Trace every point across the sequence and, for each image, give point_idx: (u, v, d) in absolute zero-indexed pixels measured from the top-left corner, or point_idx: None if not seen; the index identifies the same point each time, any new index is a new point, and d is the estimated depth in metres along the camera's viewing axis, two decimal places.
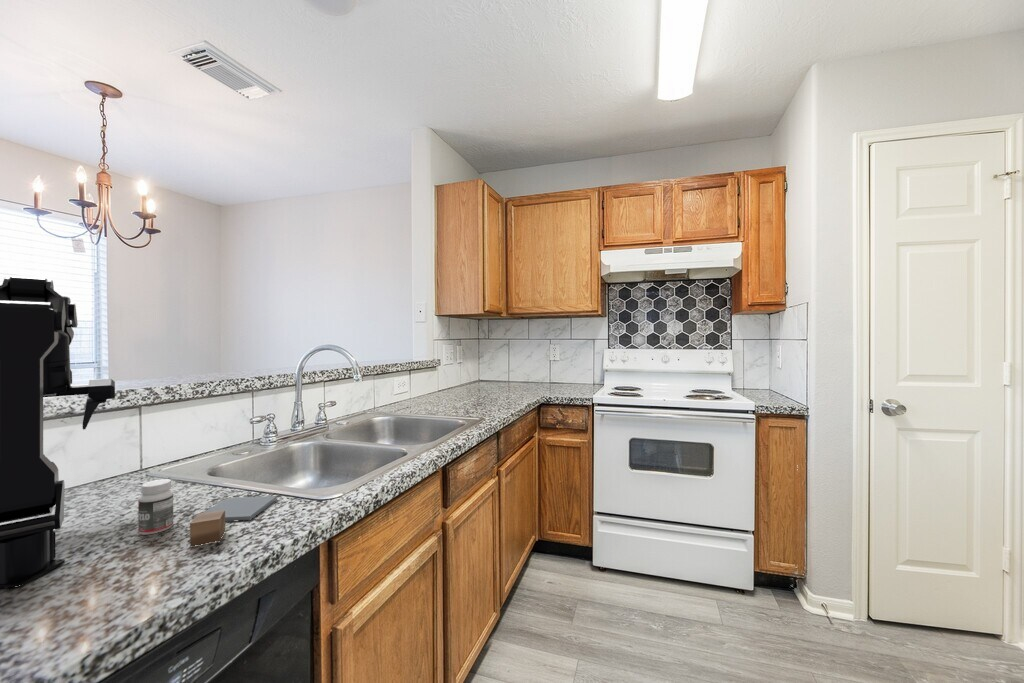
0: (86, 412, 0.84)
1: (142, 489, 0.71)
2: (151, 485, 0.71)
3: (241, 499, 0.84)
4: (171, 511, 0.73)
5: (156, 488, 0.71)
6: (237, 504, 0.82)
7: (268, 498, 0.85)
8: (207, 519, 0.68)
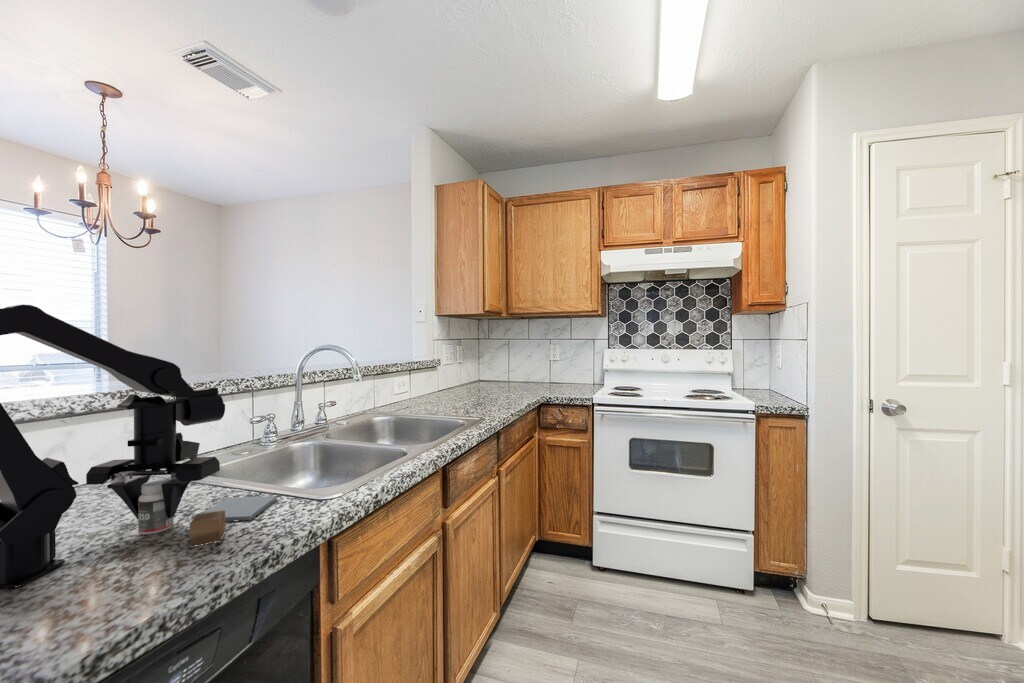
0: (164, 497, 0.71)
1: (142, 489, 0.71)
2: (151, 485, 0.71)
3: (241, 499, 0.84)
4: None
5: (156, 487, 0.71)
6: (237, 504, 0.82)
7: (268, 498, 0.85)
8: (207, 519, 0.68)
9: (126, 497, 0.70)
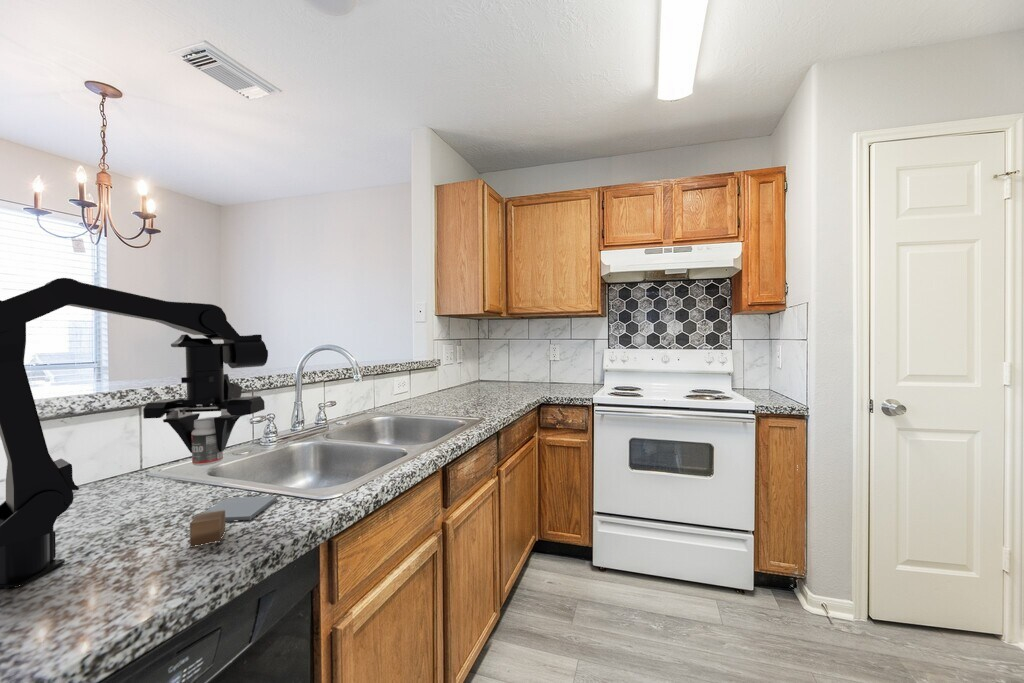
0: (216, 430, 0.76)
1: (195, 424, 0.76)
2: (203, 420, 0.76)
3: (241, 499, 0.84)
4: None
5: (208, 422, 0.76)
6: (237, 504, 0.82)
7: (268, 498, 0.85)
8: (207, 519, 0.68)
9: (181, 430, 0.75)
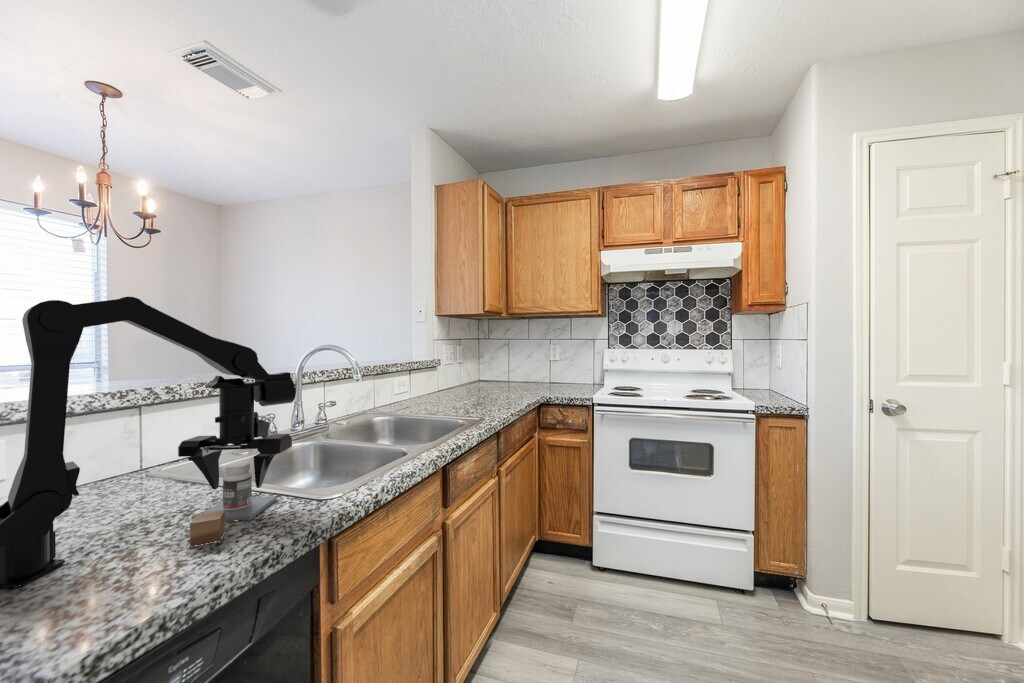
0: (255, 468, 0.79)
1: (227, 470, 0.79)
2: (235, 466, 0.79)
3: None
4: (250, 490, 0.81)
5: (239, 468, 0.79)
6: None
7: (268, 498, 0.85)
8: (206, 519, 0.68)
9: (204, 468, 0.78)
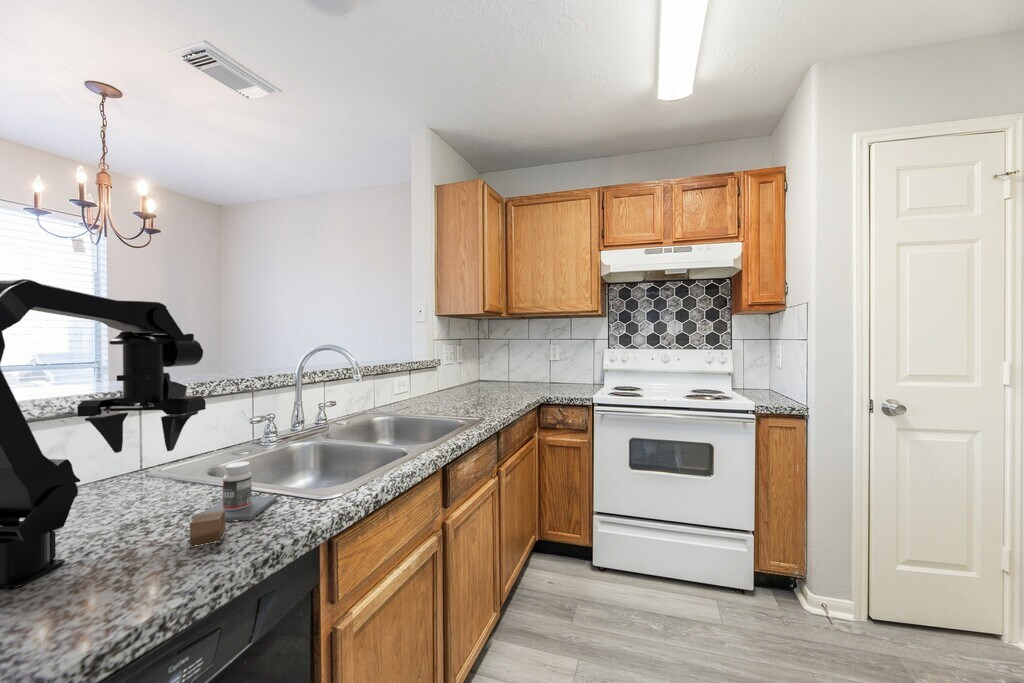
0: (164, 429, 0.75)
1: (226, 470, 0.79)
2: (234, 466, 0.79)
3: None
4: (250, 490, 0.81)
5: (239, 468, 0.79)
6: None
7: (268, 498, 0.85)
8: (206, 519, 0.68)
9: (103, 430, 0.74)
